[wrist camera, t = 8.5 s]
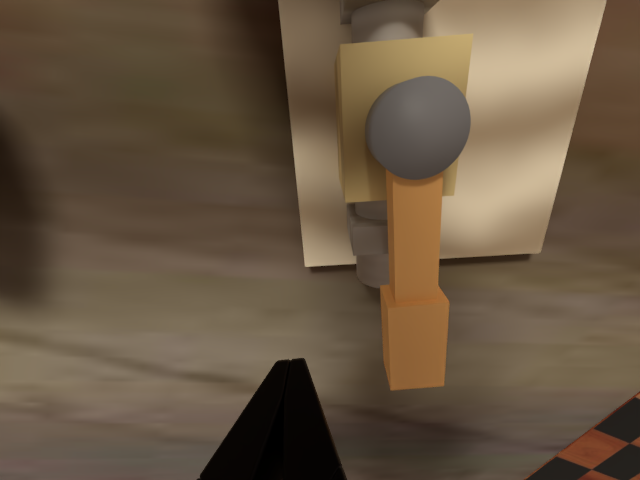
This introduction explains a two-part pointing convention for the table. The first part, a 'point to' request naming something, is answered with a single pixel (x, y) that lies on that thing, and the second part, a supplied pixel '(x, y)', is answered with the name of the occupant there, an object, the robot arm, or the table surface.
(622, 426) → the chessboard
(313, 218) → the valve plank
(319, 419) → the robot arm
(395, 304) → the valve lever
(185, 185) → the table surface
